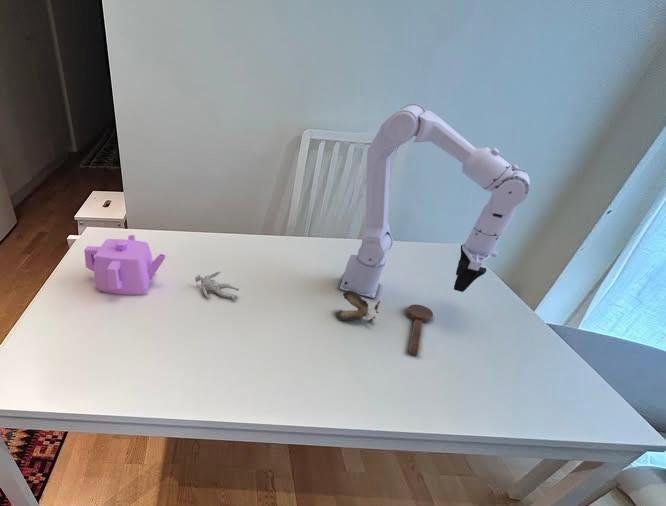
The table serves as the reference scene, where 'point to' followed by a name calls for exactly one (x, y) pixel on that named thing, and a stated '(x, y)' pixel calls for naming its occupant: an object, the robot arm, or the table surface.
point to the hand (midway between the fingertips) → (459, 282)
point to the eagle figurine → (358, 303)
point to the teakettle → (122, 265)
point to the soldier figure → (214, 285)
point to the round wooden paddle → (417, 324)
